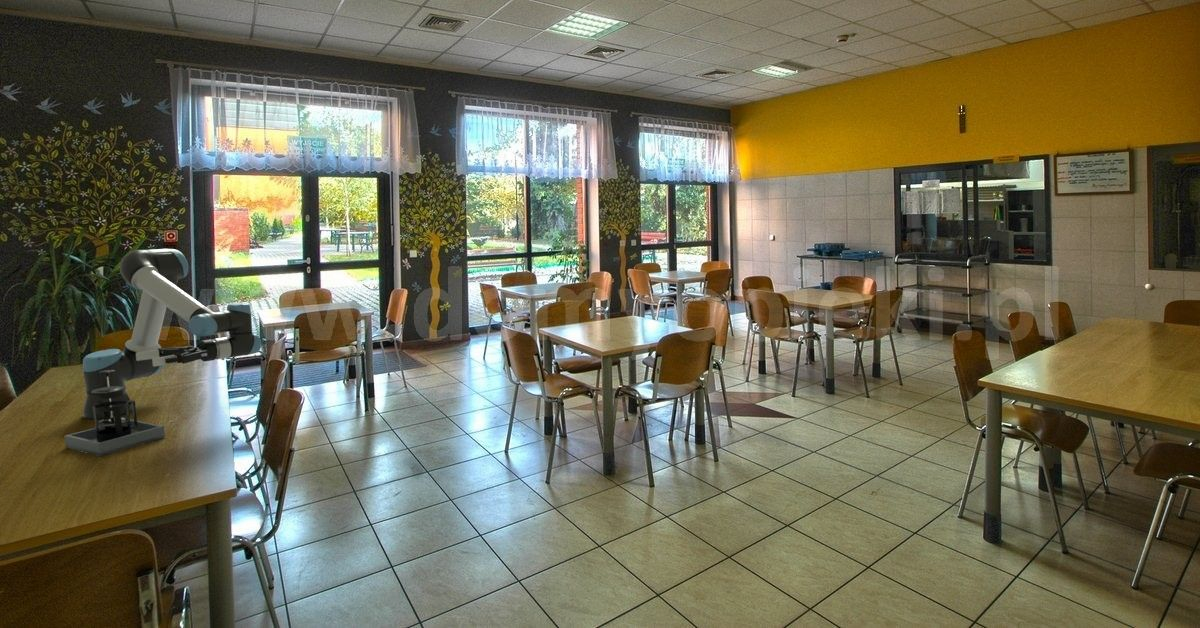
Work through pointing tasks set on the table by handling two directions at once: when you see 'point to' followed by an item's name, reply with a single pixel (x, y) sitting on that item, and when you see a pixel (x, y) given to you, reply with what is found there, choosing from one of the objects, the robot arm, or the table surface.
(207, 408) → the table surface
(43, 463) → the table surface
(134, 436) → the tray
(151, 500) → the table surface
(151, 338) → the robot arm
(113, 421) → the french press
